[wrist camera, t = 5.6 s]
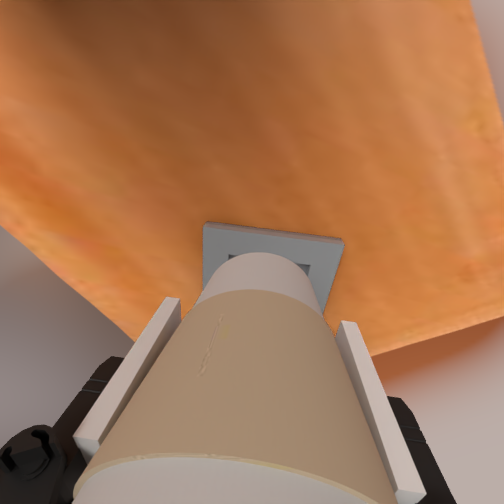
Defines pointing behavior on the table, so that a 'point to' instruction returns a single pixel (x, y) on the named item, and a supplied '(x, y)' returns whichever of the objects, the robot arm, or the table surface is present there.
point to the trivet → (274, 252)
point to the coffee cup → (243, 406)
